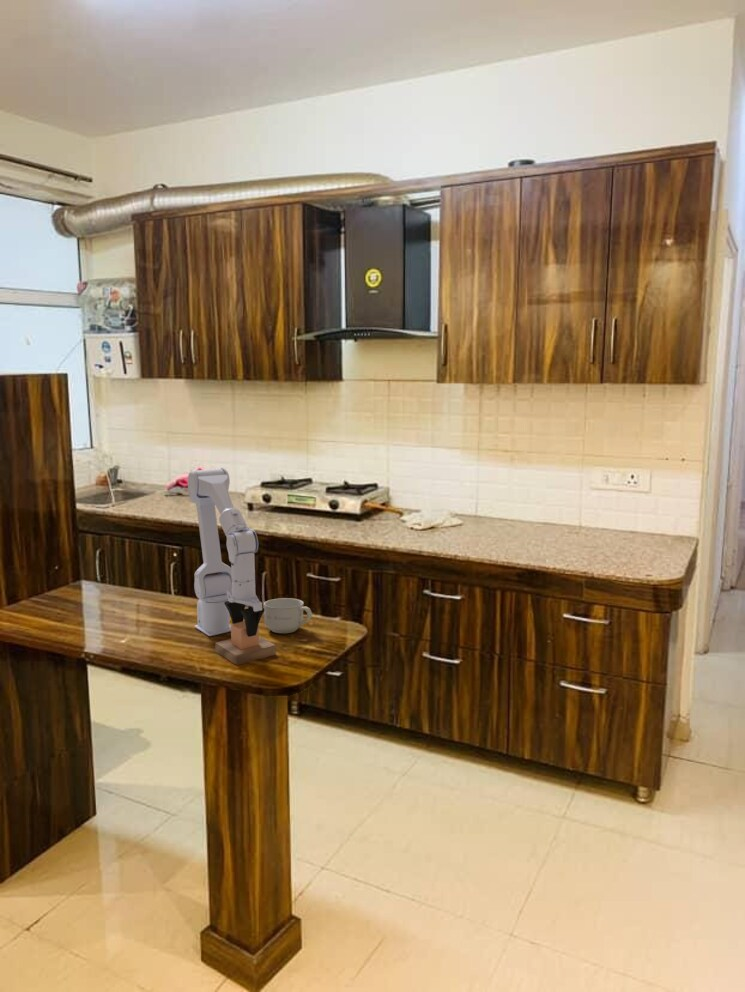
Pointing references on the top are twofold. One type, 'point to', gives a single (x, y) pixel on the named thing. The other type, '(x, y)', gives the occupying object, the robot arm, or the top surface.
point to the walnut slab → (245, 651)
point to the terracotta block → (243, 636)
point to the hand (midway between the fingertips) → (244, 631)
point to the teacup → (285, 614)
